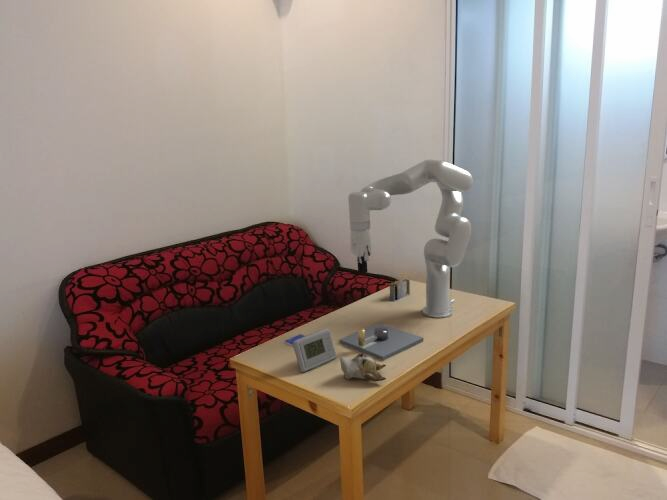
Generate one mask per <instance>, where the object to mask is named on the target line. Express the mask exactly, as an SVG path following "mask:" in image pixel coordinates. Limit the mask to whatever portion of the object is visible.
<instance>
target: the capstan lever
mask: <svg viewBox="0 0 667 500" xmlns="http://www.w3.org/2000/svg"><path fill="white" fill-rule="evenodd" d="M357 332H358V344H359V345H360V346H364V345H365V344H366V343H368V342H371V341H373V340H386V339H388V329H386V328H376V329H375V330H374V335H373V336H371V337H368V338H366V339H365V328H359V329H358V330H357Z"/></svg>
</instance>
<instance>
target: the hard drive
mask: <svg viewBox="0 0 667 500" xmlns="http://www.w3.org/2000/svg"><path fill="white" fill-rule="evenodd" d="M304 336H305V335H303V334H297V335H295V336H292V337H289V338H288V339H285V340H284V343H285V344H286V345H289V346H292V347H294V346H293V342H294V341H295V340H298V339H300V338H302V337H304Z"/></svg>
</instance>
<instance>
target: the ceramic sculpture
mask: <svg viewBox="0 0 667 500" xmlns="http://www.w3.org/2000/svg"><path fill="white" fill-rule="evenodd" d="M339 361H340V366H341V368H340V369H341V371H342V373H343V375H344V376H345V379H347V380H350V379H353V378H357V379H361V380H369V381H370V382H375V383H376V382H382V381H384V380H387V378H386V377H384V376H382V375H381V374H380V373H378V372H379V371H380V370H382V369H384V368H385V367H386V366H387V364H379V363H377V362H376V360H375V359H374V357H373V356H370V355H368V356H367V355H364V353H358V354H356V355H355V356H354V357H353V358H349V357H345V356H344V357H343V356H341V357H340V358H339Z"/></svg>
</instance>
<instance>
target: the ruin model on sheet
mask: <svg viewBox="0 0 667 500" xmlns="http://www.w3.org/2000/svg"><path fill="white" fill-rule="evenodd" d="M410 295H411V280H410V279H407V278H404V279H401V280H397V281H394V282H390V284H389V301H391V302H396V300H397V301H399V300H401V299H403V298H406V297H408V296H410Z"/></svg>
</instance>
